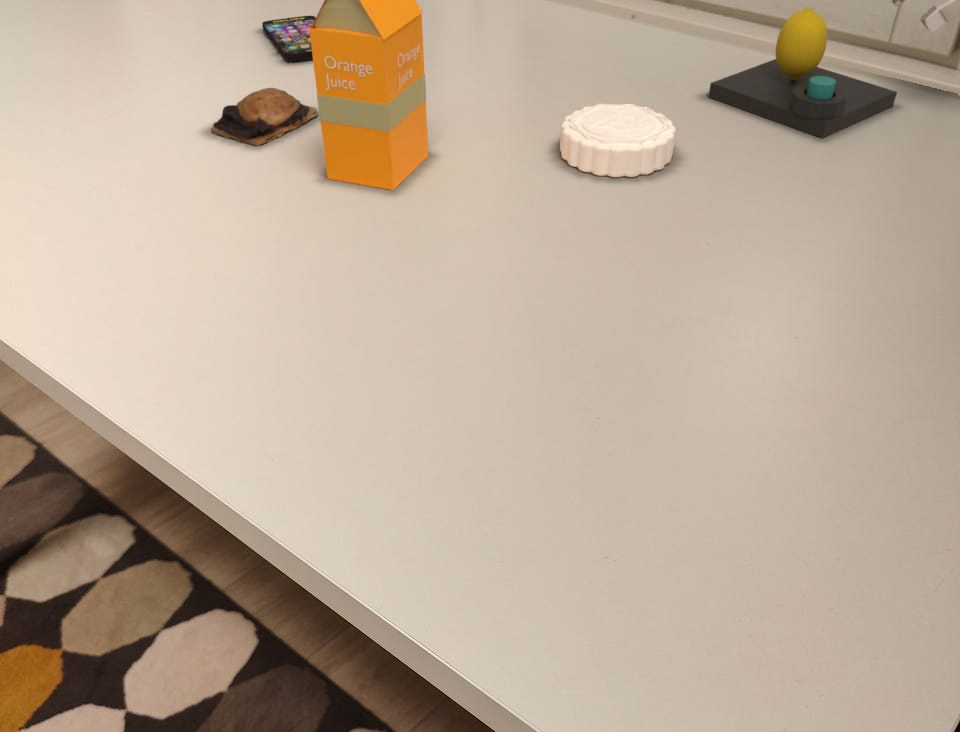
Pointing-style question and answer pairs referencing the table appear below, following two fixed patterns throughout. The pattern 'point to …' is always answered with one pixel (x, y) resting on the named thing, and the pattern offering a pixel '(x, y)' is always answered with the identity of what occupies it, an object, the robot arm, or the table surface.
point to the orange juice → (370, 89)
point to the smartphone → (291, 36)
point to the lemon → (801, 43)
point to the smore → (262, 116)
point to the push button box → (801, 98)
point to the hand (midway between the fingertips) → (907, 13)
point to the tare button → (821, 87)
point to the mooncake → (617, 140)
